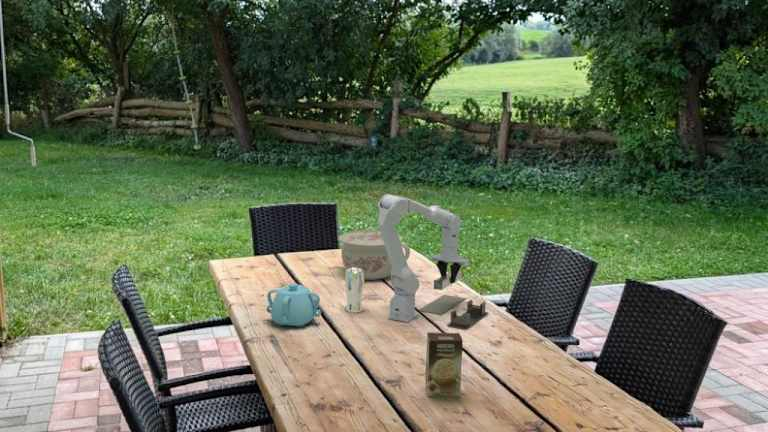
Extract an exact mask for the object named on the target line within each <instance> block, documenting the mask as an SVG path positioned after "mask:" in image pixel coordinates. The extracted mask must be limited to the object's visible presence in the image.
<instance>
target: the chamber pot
mask: <svg viewBox="0 0 768 432" xmlns="http://www.w3.org/2000/svg"><path fill="white" fill-rule="evenodd" d="M397 234H398V233H397ZM337 237H338V238H337V240H338V241H339V242H341V244H343V245H342V247H341V253H340V254H341V255H340V256H341V261H342V264H343V266H344V268H345V270H346V269H348V268H361V269H363V270H364V281H379V280H383V279H385V278H389V277H391V273H390V272H391V270H392V269H393V268H392V265H391V262H390V259H389V256H388V253H387V250H386V247H385V244H384V241H383V238H382V235H381V232H380V229H377V230H376V229H375V228H372V227H368V228H367V227H366V228H365V229H364V230H354V231H348V232H345V233H342V234H339V236H337ZM398 237H399V240H400V243H401V246H402V248H403V249H404V251H405V252H404V255H405V258H406V261H407V260H408V259H409V258H410V254H411V252H410V246H409V245H408V244H407V243H406V242H405V241H403V240H404V237H403V236H402V235H400V234H398Z"/></svg>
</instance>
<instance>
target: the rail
mask: <svg viewBox="0 0 768 432" xmlns="http://www.w3.org/2000/svg"><path fill="white" fill-rule="evenodd" d="M463 274H464V271H463V269H459V271H458V274H457V277H456V280H455V283H456V282H459V281H460V280H462V279H463V276H464V275H463ZM451 285H453V284H452V283H451V271H449V272H447V274H445V275H444V276H442V277H441V276H440V277H438V278H436V279H434V280H433V289H434V290H437V291H443V290H444V289H446V288H448V287H450V286H451Z"/></svg>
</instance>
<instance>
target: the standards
mask: <svg viewBox="0 0 768 432" xmlns="http://www.w3.org/2000/svg"><path fill="white" fill-rule="evenodd" d="M486 305H487V302H485V301H483V302H481V303H480V305H477V304H473V299H470V300H468V301H466V311H465V312H464V313H462V314H461V315H457V314H458V313H457V310H452V311H451V312H450V322H449V323H448V324H447V325H446V327H447V326H448V327H447V328H452V329H458V330H463V331H467V330H468V329H470V328H471V327H472V326H474V325H475V324H476V323H478V322H479V321H481V320H482V319H484V318H485V317H486V316H488V315H489V312H488V311H486Z"/></svg>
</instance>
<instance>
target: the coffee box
mask: <svg viewBox="0 0 768 432" xmlns="http://www.w3.org/2000/svg"><path fill="white" fill-rule="evenodd" d="M426 334H427V336H426V355H425V356H426V358H425V378H424V379H425V380H424V381H425V382H424V385H425V387H424V388H425V392H426V393H425V394H426V397H430V398H431V397H432V398H433V397H437V398H441V397H442V398H444V397H445V398H447V397H449V398H451V397H452V398H456V397H458V398H460V397H461V384H462V361H463V359H462V358H463V343H464V342H463V338H462V335H461V334H460V332H427V333H426Z"/></svg>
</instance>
